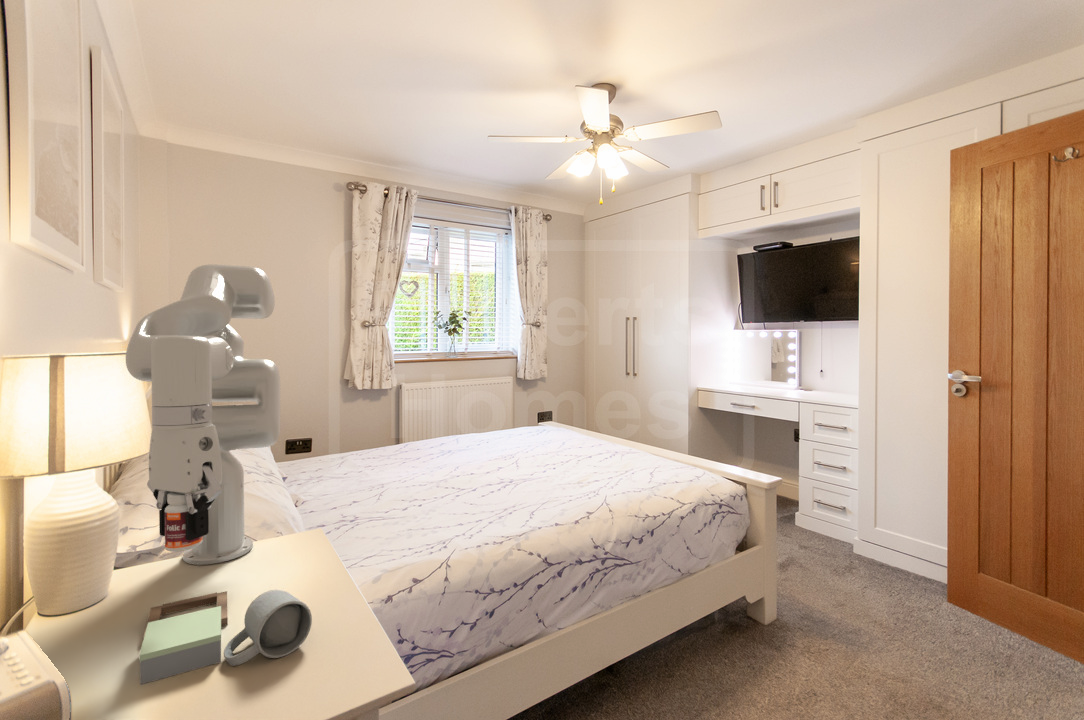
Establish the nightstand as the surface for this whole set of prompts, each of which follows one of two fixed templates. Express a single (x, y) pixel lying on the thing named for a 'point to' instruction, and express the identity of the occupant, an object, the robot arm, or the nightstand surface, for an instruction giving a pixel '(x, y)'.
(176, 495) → the pill bottle
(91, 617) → the nightstand surface
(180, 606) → the base
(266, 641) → the ceramic mug
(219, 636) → the green square block
